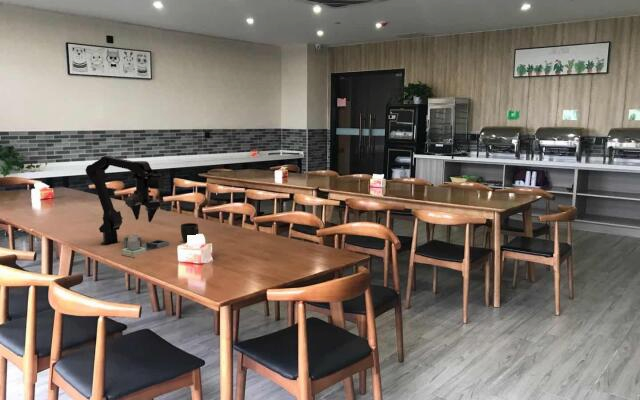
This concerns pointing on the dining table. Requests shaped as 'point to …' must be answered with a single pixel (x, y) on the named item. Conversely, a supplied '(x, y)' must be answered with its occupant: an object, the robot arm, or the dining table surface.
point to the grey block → (133, 243)
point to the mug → (188, 230)
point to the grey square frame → (133, 252)
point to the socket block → (149, 244)
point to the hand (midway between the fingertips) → (143, 220)
